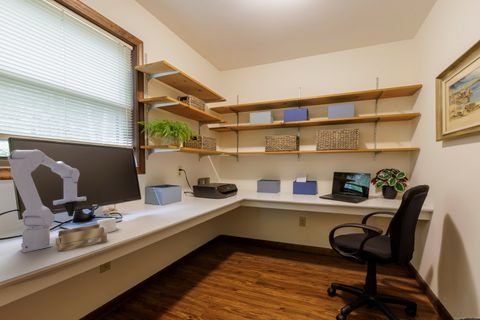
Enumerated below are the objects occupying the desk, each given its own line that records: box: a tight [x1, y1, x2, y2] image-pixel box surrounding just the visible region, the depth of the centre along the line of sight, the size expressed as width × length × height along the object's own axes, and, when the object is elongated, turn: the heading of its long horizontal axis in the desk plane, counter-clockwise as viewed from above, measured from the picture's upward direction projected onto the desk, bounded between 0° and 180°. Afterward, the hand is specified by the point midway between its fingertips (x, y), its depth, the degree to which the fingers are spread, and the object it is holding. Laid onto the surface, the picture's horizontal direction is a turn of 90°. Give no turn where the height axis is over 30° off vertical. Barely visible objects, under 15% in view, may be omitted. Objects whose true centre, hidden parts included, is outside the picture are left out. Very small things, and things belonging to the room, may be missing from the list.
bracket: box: [97, 217, 117, 234], centre depth 122 cm, size 20×9×7 cm, turn 146°
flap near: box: [61, 227, 105, 244], centre depth 104 cm, size 17×4×1 cm
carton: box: [55, 233, 108, 252], centre depth 108 cm, size 18×13×3 cm
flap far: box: [57, 223, 100, 238], centre depth 112 cm, size 17×4×1 cm
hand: (70, 216), depth 120 cm, fingers closed
